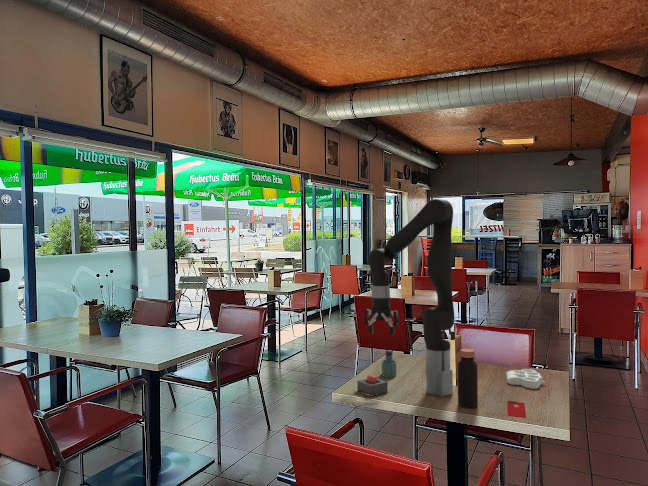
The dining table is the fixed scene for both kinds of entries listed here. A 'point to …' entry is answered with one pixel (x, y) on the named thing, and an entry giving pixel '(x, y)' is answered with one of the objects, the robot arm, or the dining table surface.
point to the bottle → (467, 380)
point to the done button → (371, 379)
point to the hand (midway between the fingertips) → (381, 334)
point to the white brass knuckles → (525, 378)
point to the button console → (372, 387)
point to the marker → (389, 356)
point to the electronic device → (516, 409)
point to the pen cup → (388, 368)
